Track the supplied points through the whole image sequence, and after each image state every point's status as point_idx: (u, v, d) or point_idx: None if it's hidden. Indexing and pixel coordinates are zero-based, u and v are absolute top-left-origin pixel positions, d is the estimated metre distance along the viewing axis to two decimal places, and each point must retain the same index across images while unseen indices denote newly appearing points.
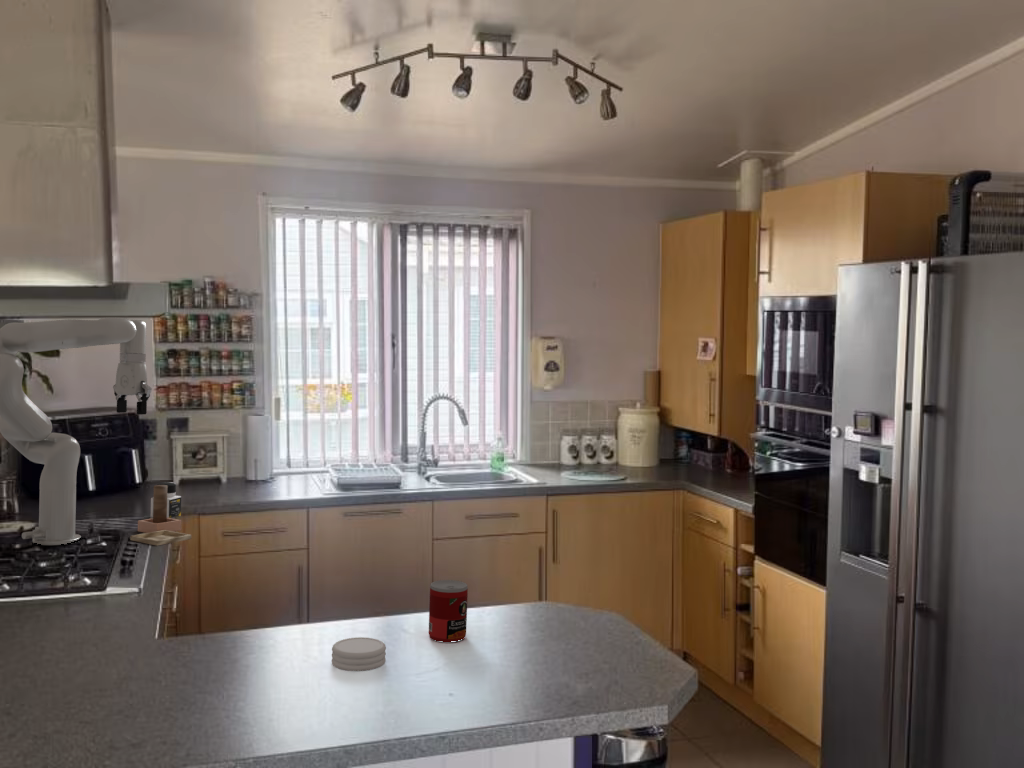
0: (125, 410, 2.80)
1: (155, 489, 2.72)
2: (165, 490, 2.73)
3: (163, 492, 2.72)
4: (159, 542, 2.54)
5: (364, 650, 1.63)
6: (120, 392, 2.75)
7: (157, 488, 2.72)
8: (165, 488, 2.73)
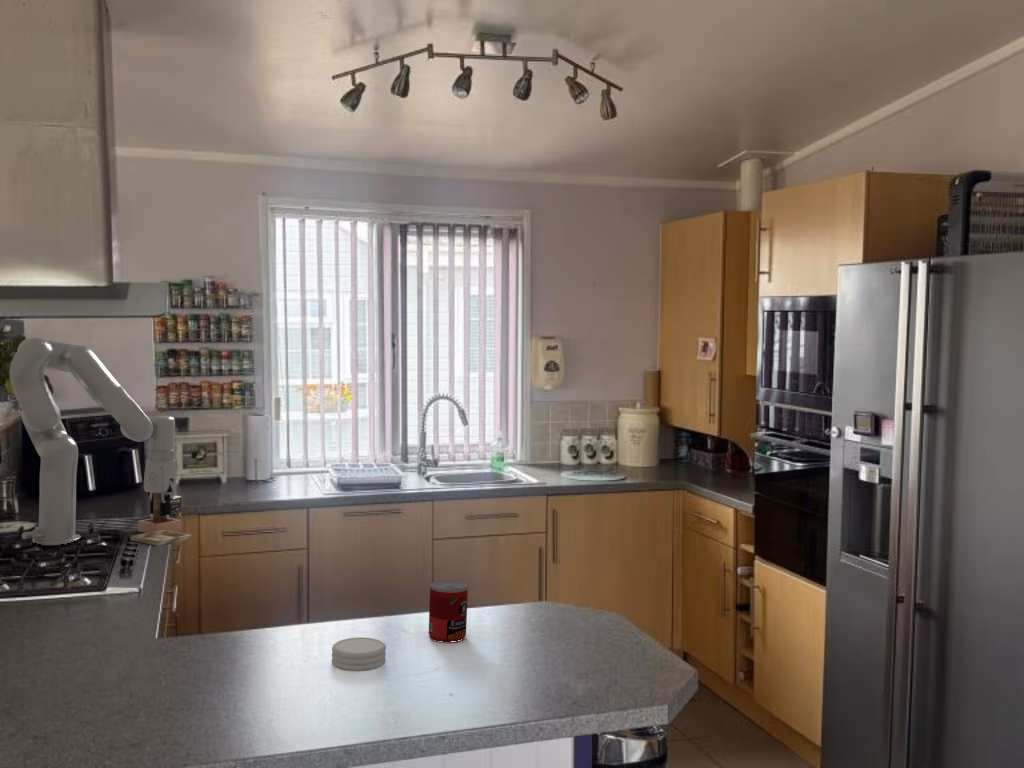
0: None
1: None
2: None
3: None
4: (159, 542, 2.54)
5: (364, 650, 1.63)
6: (149, 489, 2.72)
7: None
8: None
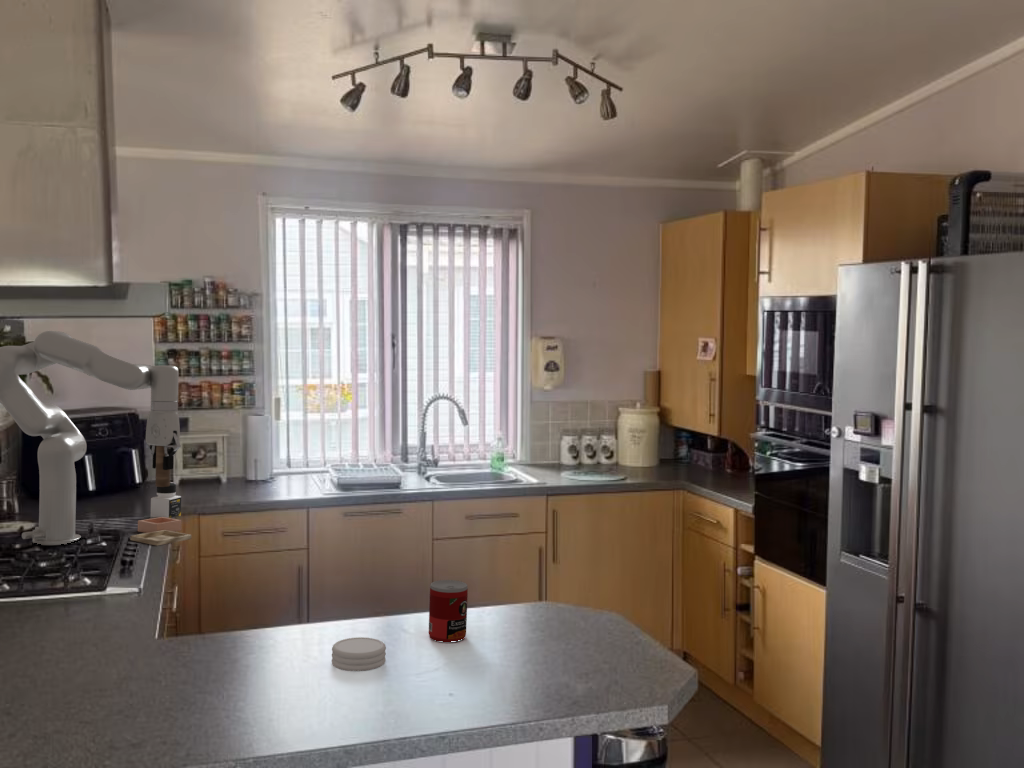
0: None
1: None
2: None
3: None
4: (159, 542, 2.54)
5: (364, 650, 1.63)
6: (151, 442, 2.59)
7: None
8: None
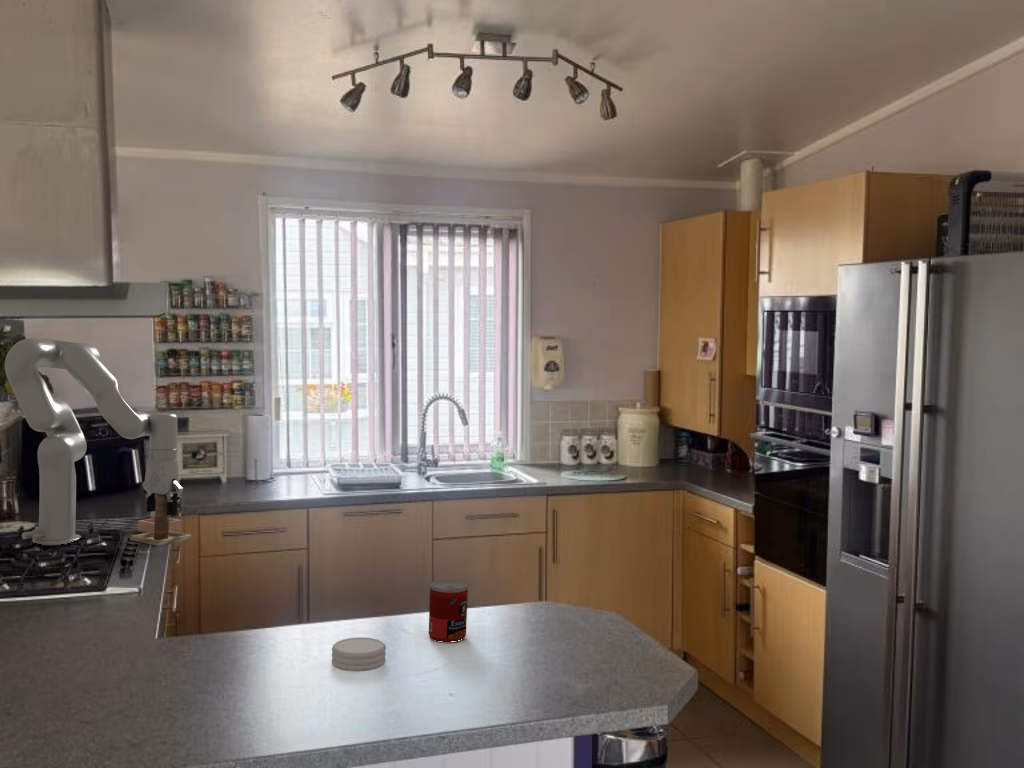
0: None
1: (157, 496, 2.59)
2: None
3: (166, 499, 2.60)
4: (159, 542, 2.54)
5: (364, 650, 1.63)
6: (150, 490, 2.59)
7: (159, 495, 2.59)
8: None
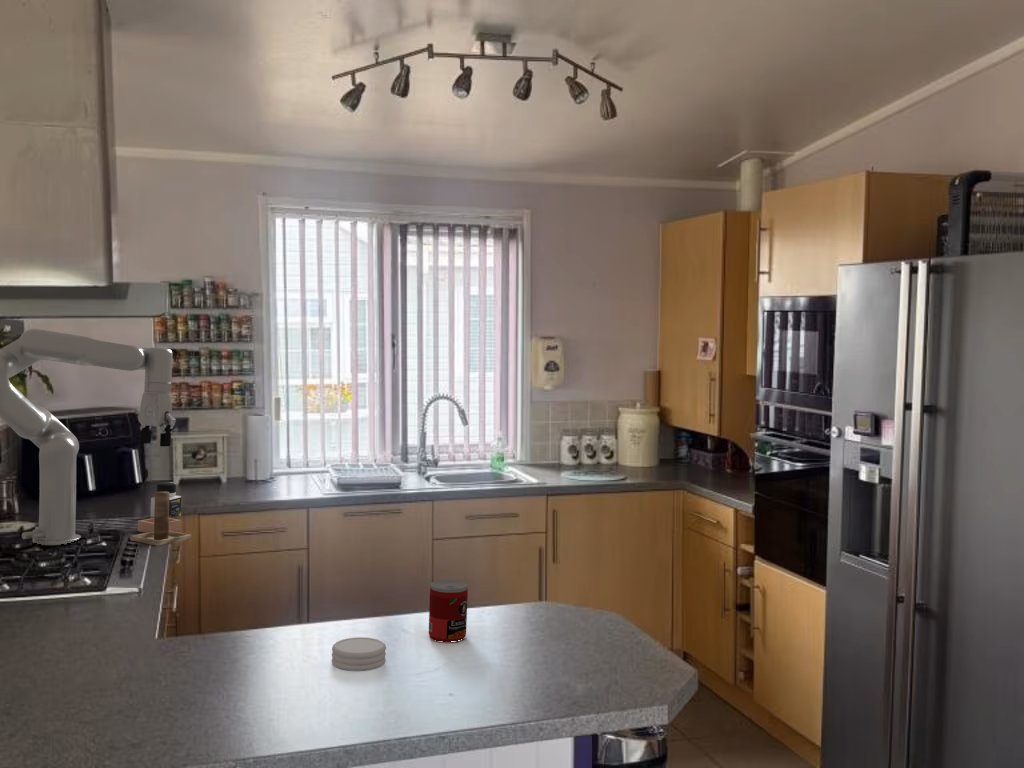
0: (149, 441, 2.70)
1: (156, 496, 2.59)
2: (167, 497, 2.60)
3: (165, 499, 2.60)
4: (159, 542, 2.54)
5: (364, 650, 1.63)
6: (144, 422, 2.65)
7: (158, 495, 2.59)
8: (167, 495, 2.60)
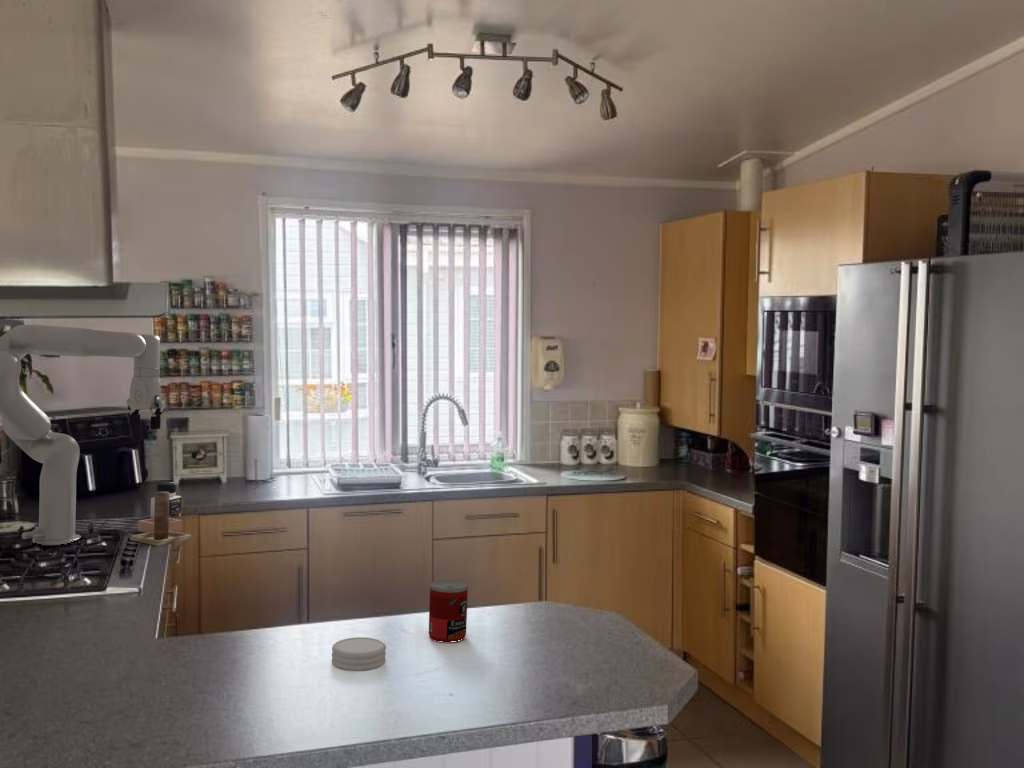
0: (139, 424, 2.80)
1: (156, 496, 2.59)
2: (167, 497, 2.60)
3: (165, 499, 2.60)
4: (159, 542, 2.54)
5: (364, 650, 1.63)
6: (134, 406, 2.75)
7: (158, 495, 2.59)
8: (167, 495, 2.60)
